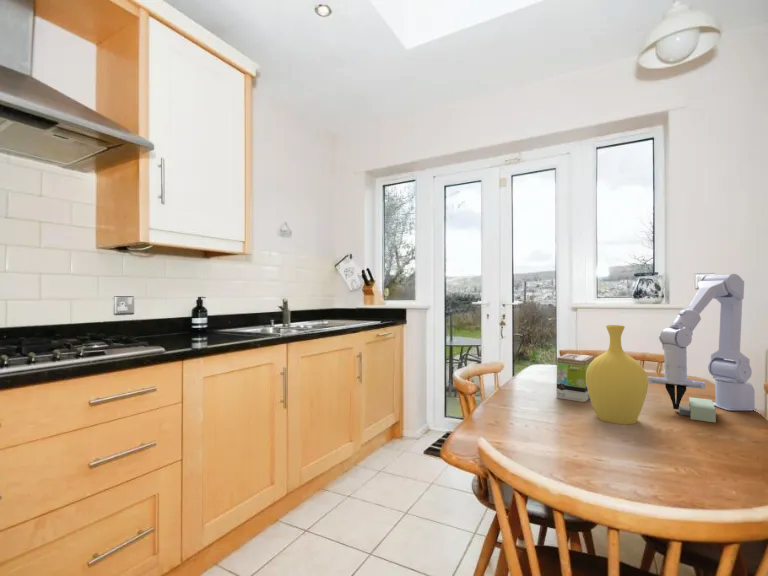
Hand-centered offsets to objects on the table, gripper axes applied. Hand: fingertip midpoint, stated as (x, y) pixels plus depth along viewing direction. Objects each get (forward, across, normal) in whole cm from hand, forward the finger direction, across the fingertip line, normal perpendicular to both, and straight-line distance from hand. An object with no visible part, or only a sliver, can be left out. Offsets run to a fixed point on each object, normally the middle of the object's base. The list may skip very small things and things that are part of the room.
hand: (675, 408), depth 125 cm
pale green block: (+1, +6, 0) cm, 6 cm away
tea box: (+1, -30, +2) cm, 30 cm away
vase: (+1, -15, -19) cm, 24 cm away
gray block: (+2, +4, 0) cm, 5 cm away
